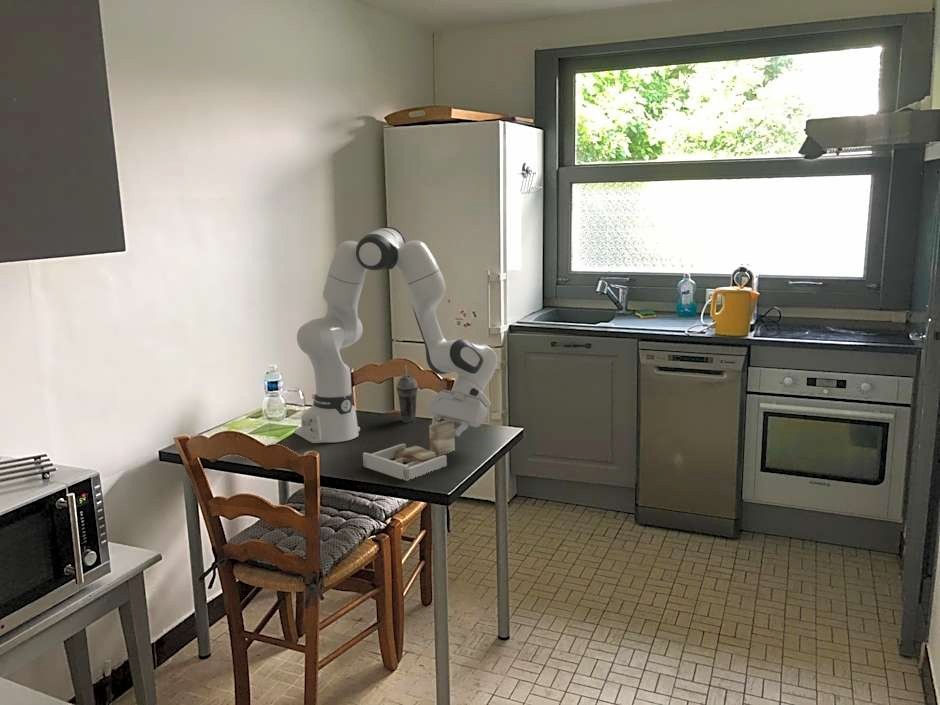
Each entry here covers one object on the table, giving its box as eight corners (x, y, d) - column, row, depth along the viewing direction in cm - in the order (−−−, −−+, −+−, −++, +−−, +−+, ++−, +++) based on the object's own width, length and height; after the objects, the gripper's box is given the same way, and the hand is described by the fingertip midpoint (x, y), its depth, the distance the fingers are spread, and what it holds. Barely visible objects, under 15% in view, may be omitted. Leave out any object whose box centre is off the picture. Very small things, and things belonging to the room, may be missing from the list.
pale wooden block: (430, 454, 232) (429, 425, 230) (446, 448, 237) (445, 420, 235) (438, 456, 230) (437, 427, 228) (454, 451, 235) (454, 422, 233)
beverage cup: (421, 417, 271) (419, 361, 267) (416, 423, 264) (415, 365, 260) (400, 417, 272) (398, 361, 268) (395, 423, 264) (393, 365, 260)
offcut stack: (394, 459, 229) (393, 447, 228) (408, 454, 233) (407, 442, 232) (427, 469, 219) (427, 457, 219) (441, 464, 223) (441, 452, 223)
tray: (363, 466, 223) (362, 453, 222) (403, 452, 234) (403, 440, 233) (406, 481, 211) (406, 466, 210) (446, 465, 222) (446, 452, 221)
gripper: (436, 383, 243) (414, 420, 238) (485, 393, 229) (463, 433, 224) (446, 394, 247) (425, 431, 242) (495, 404, 233) (474, 444, 228)
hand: (444, 432), depth 233 cm, fingers open, 8 cm apart
